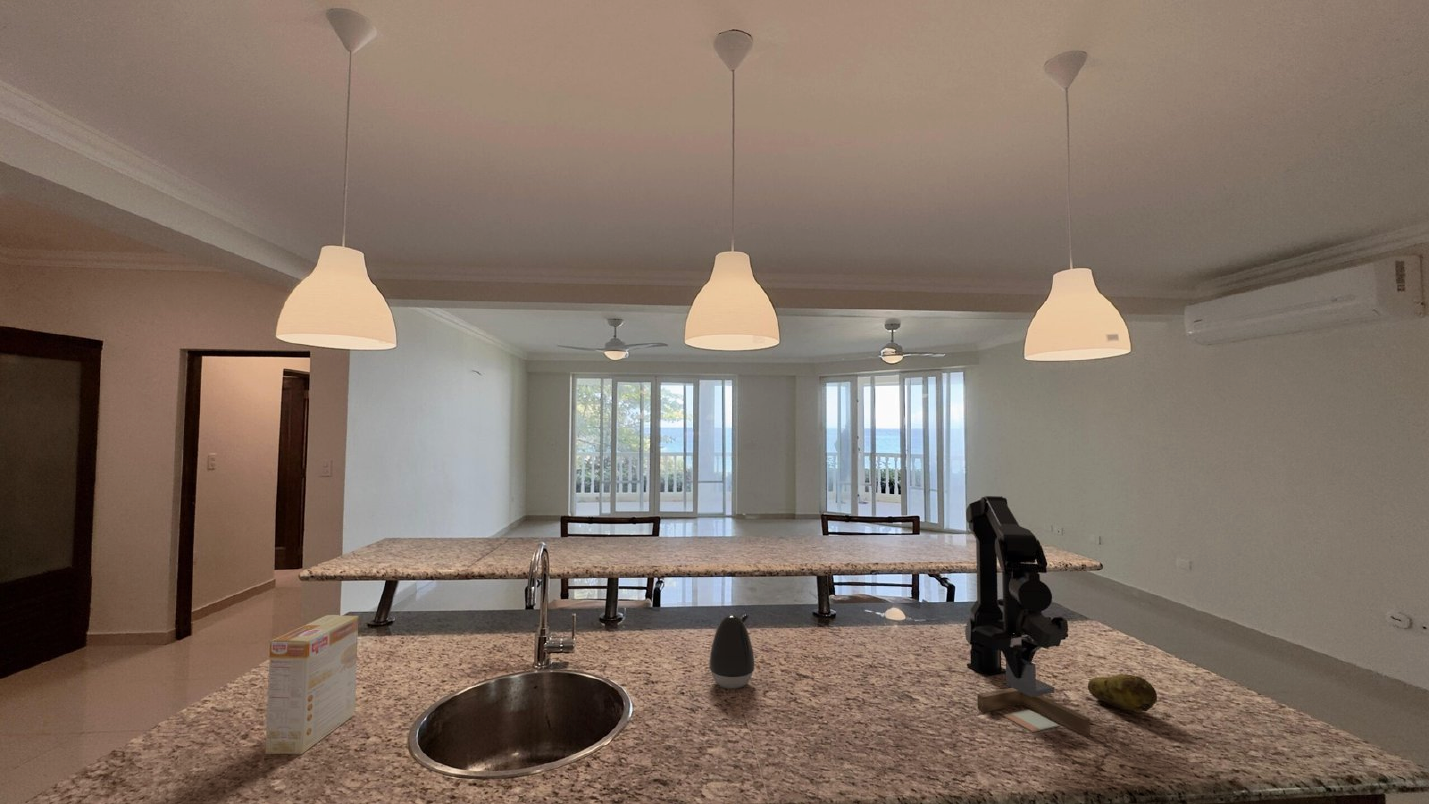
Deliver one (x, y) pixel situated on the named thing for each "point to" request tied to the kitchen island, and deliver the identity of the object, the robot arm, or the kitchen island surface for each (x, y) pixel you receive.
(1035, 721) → the pad
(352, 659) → the coffeecake box
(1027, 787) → the kitchen island surface
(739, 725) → the kitchen island surface
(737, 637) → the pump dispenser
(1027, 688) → the bracket
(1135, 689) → the potato
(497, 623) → the kitchen island surface
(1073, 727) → the wooden l-shaped block
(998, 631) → the robot arm
